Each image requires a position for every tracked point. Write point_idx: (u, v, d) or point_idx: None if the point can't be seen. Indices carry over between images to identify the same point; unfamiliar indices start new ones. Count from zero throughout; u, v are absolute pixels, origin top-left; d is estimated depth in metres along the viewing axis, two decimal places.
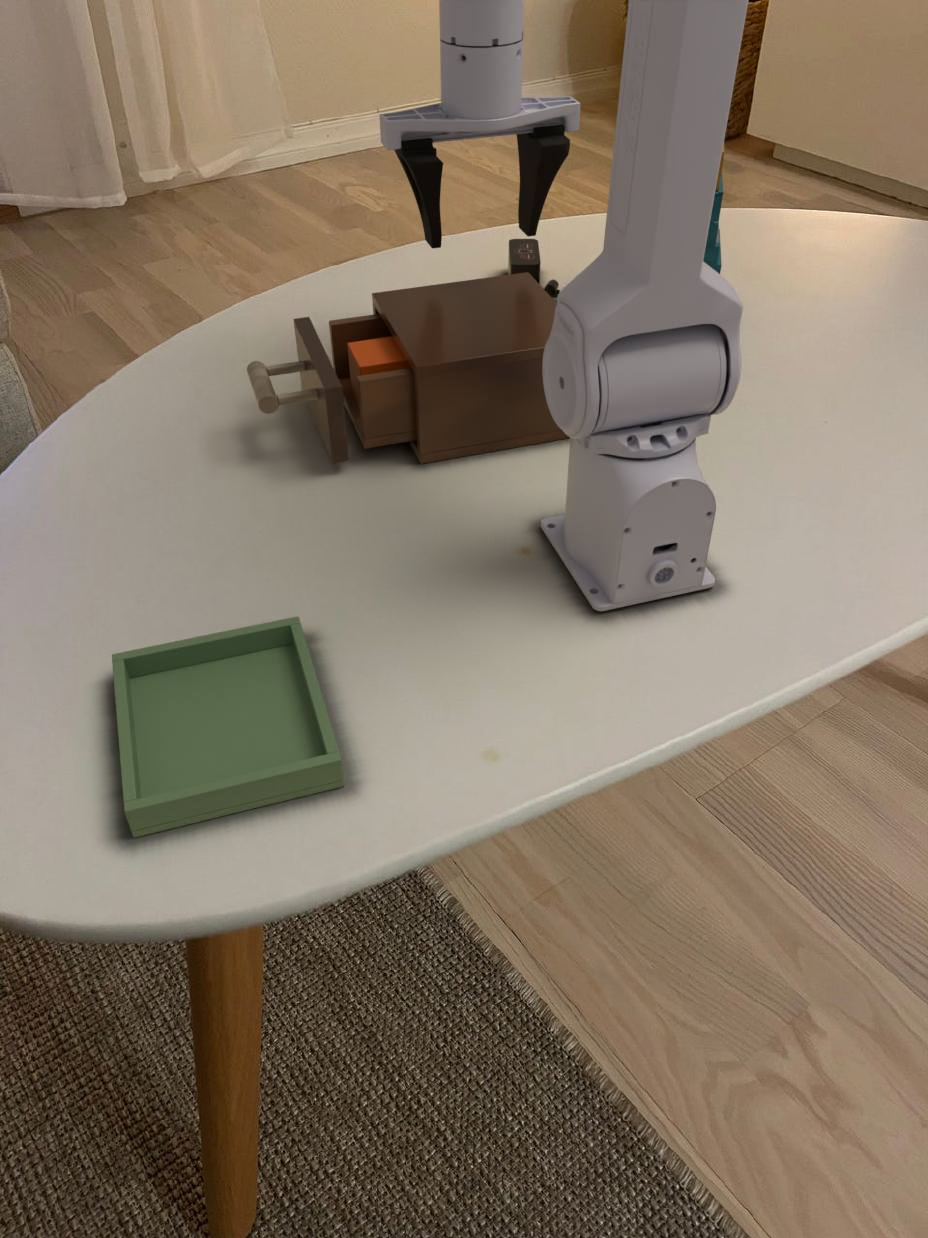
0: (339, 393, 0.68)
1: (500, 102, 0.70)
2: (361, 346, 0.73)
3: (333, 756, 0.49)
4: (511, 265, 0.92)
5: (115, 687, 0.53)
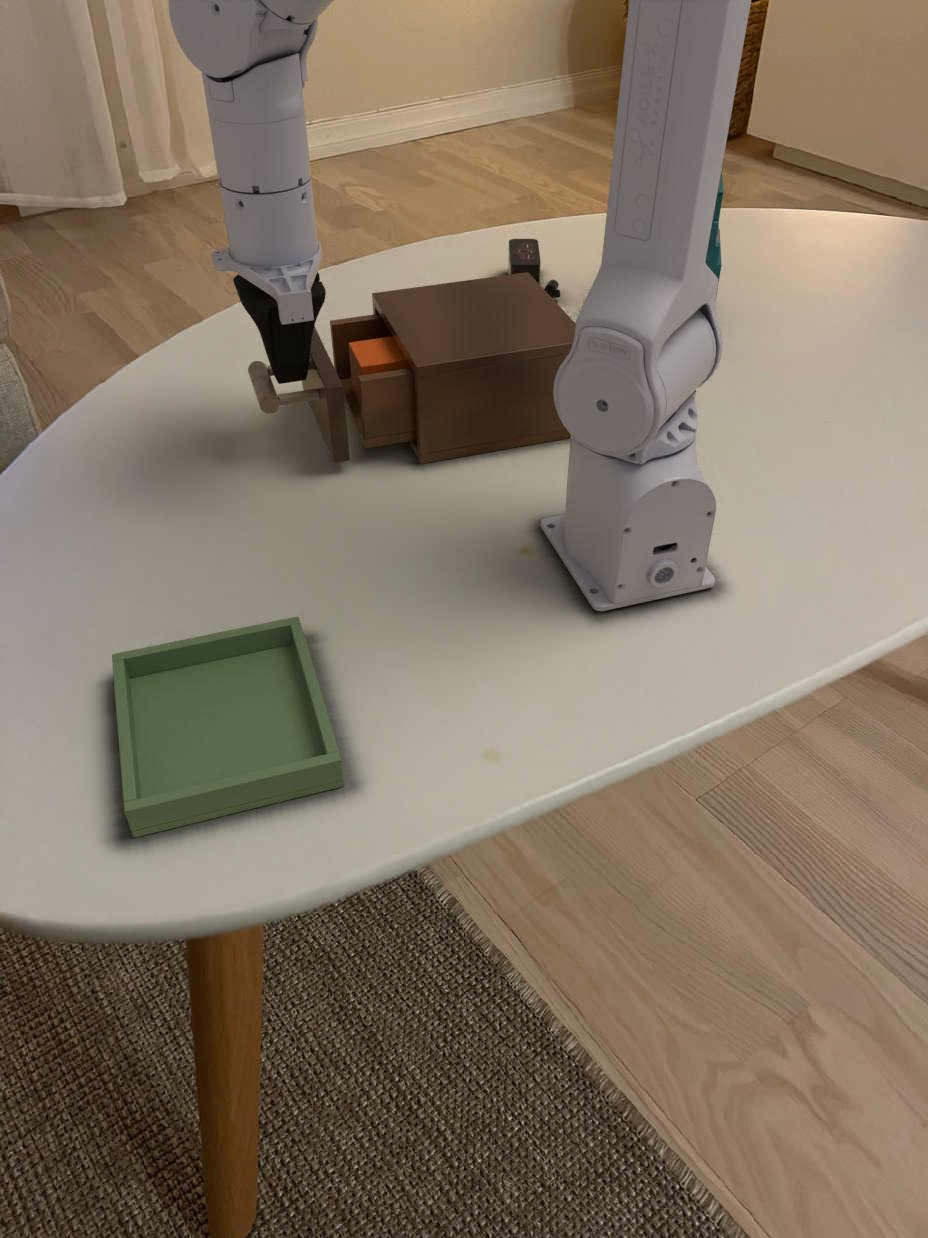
0: (340, 393, 0.68)
1: None
2: (363, 346, 0.73)
3: (333, 756, 0.49)
4: (511, 265, 0.92)
5: (115, 687, 0.53)
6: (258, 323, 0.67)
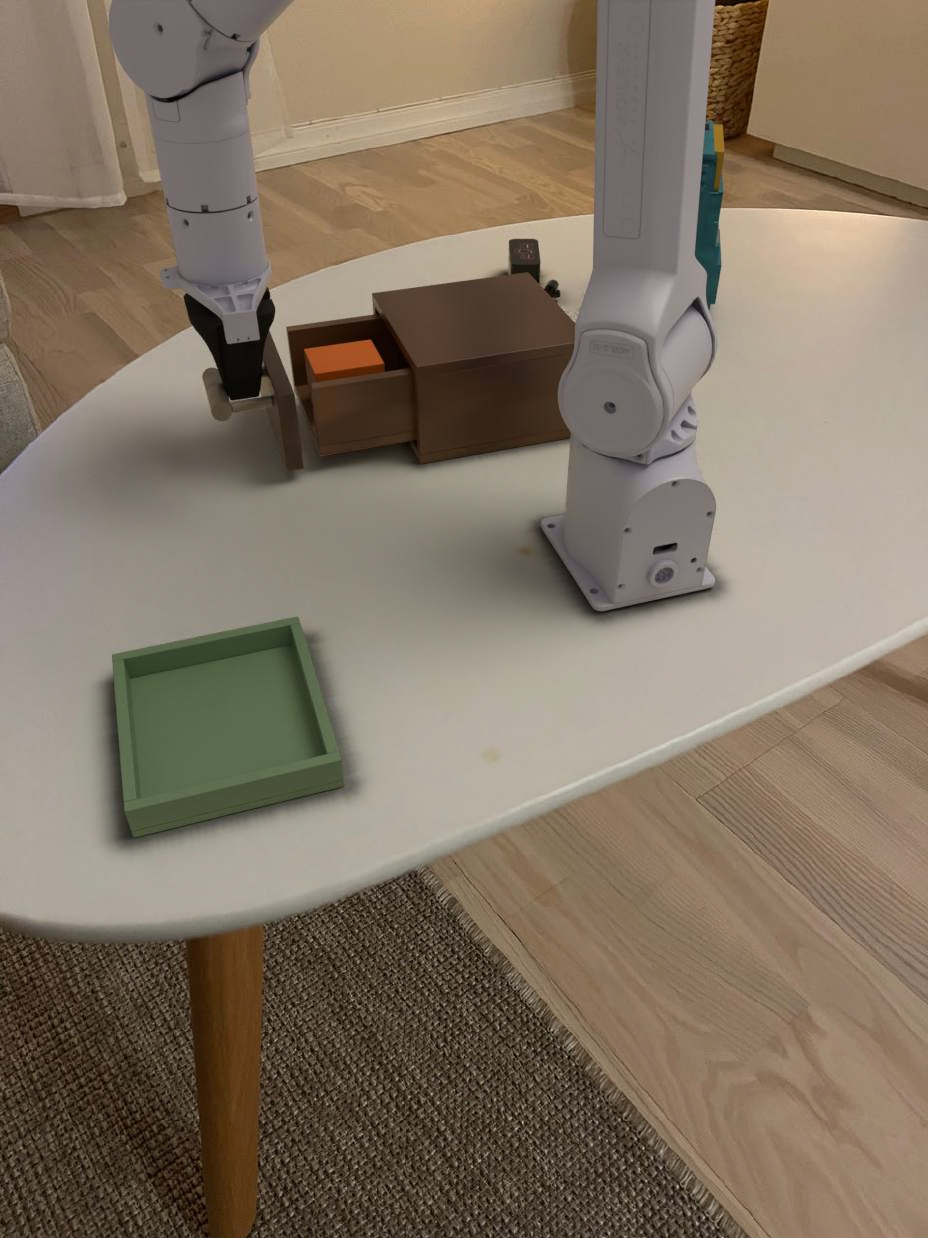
0: (291, 400, 0.67)
1: None
2: (318, 352, 0.73)
3: (333, 756, 0.49)
4: (511, 265, 0.92)
5: (115, 687, 0.53)
6: (207, 341, 0.67)
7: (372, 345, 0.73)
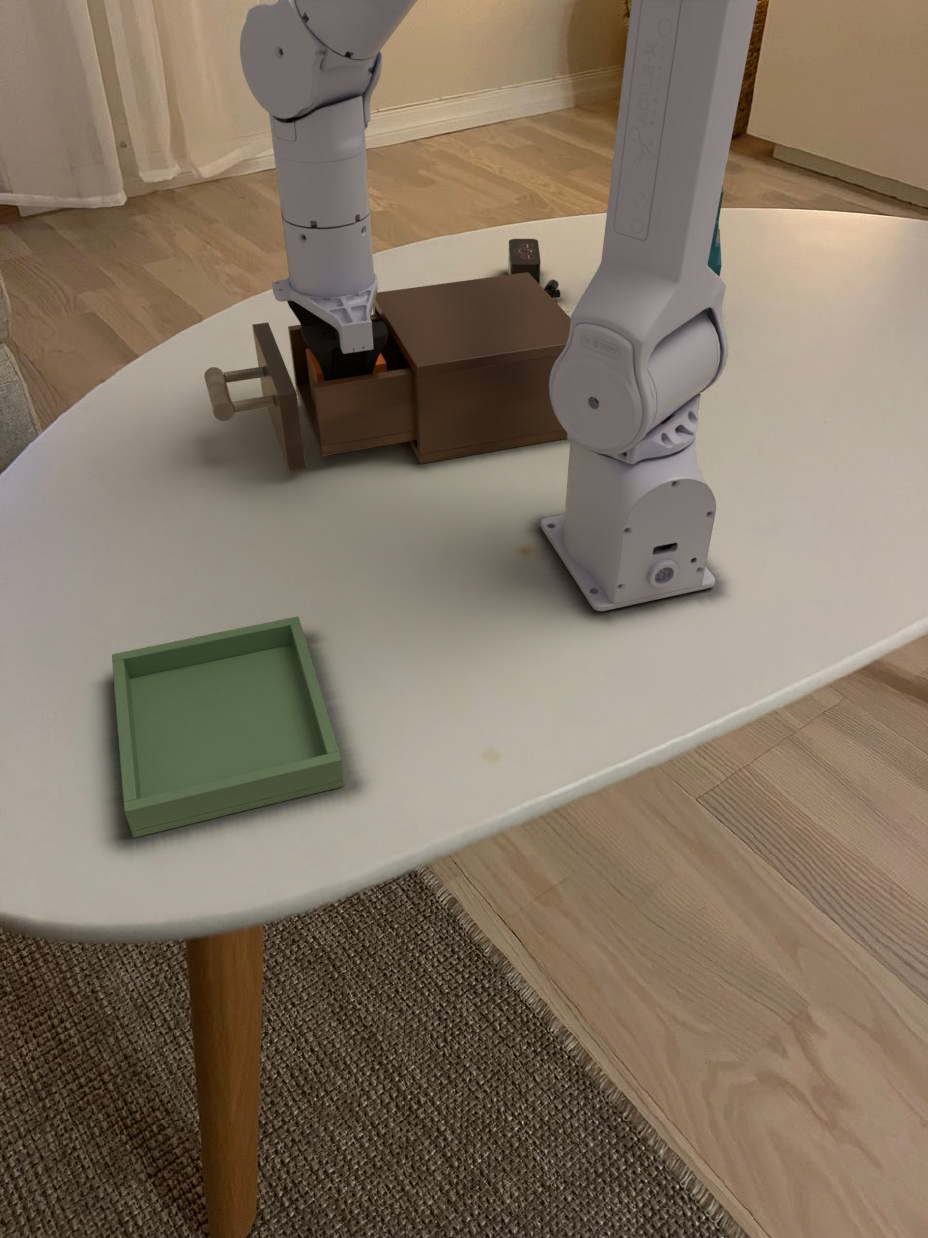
0: (294, 400, 0.67)
1: None
2: None
3: (333, 756, 0.49)
4: (511, 265, 0.92)
5: (115, 687, 0.53)
6: (322, 363, 0.68)
7: None
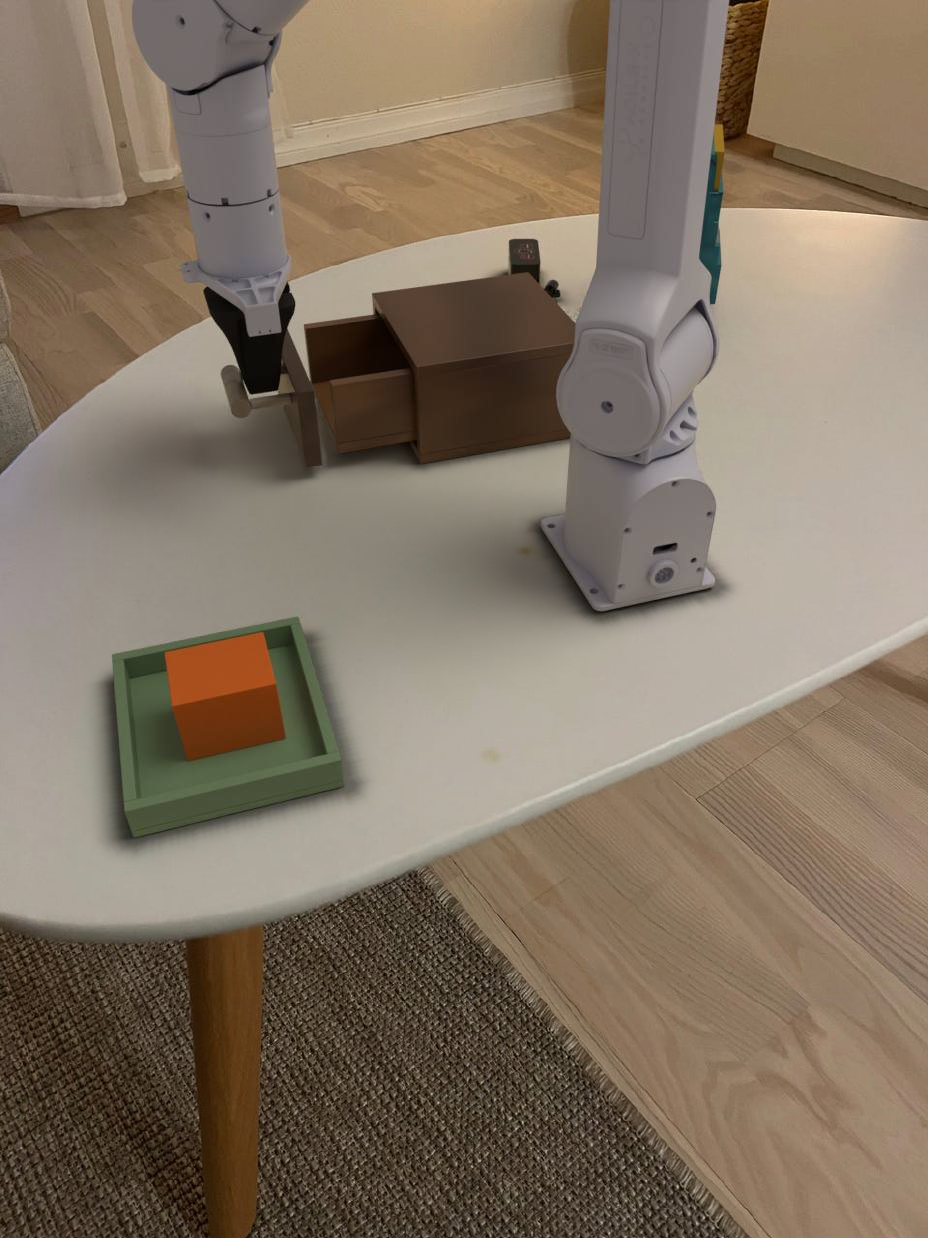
0: (311, 397, 0.67)
1: None
2: (184, 660, 0.51)
3: (333, 756, 0.49)
4: (511, 265, 0.92)
5: (115, 687, 0.53)
6: (227, 334, 0.67)
7: (263, 645, 0.51)
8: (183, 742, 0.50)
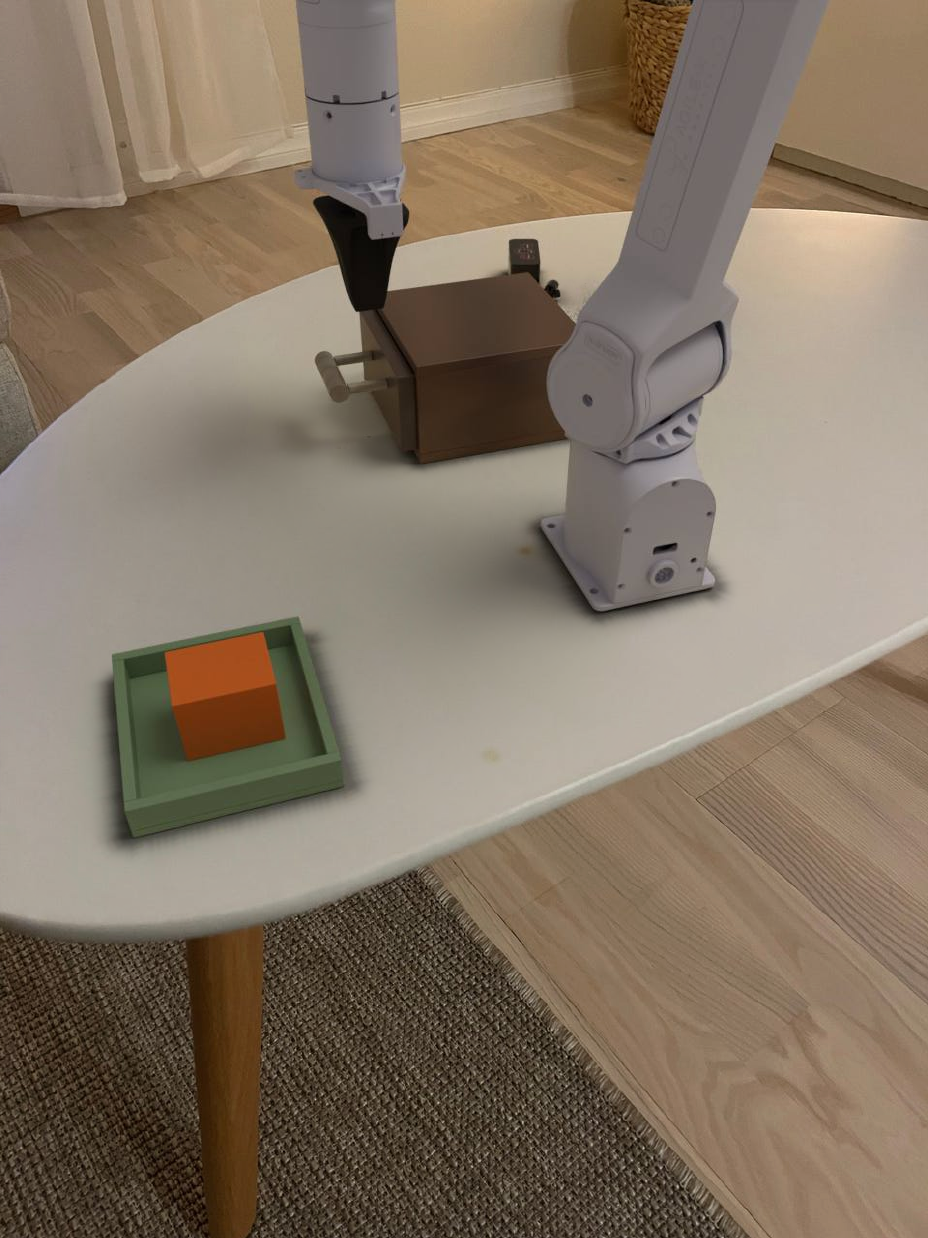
0: (411, 382, 0.69)
1: None
2: (184, 660, 0.51)
3: (333, 756, 0.49)
4: (511, 265, 0.92)
5: (115, 687, 0.53)
6: (340, 244, 0.65)
7: (263, 645, 0.51)
8: (183, 742, 0.50)
